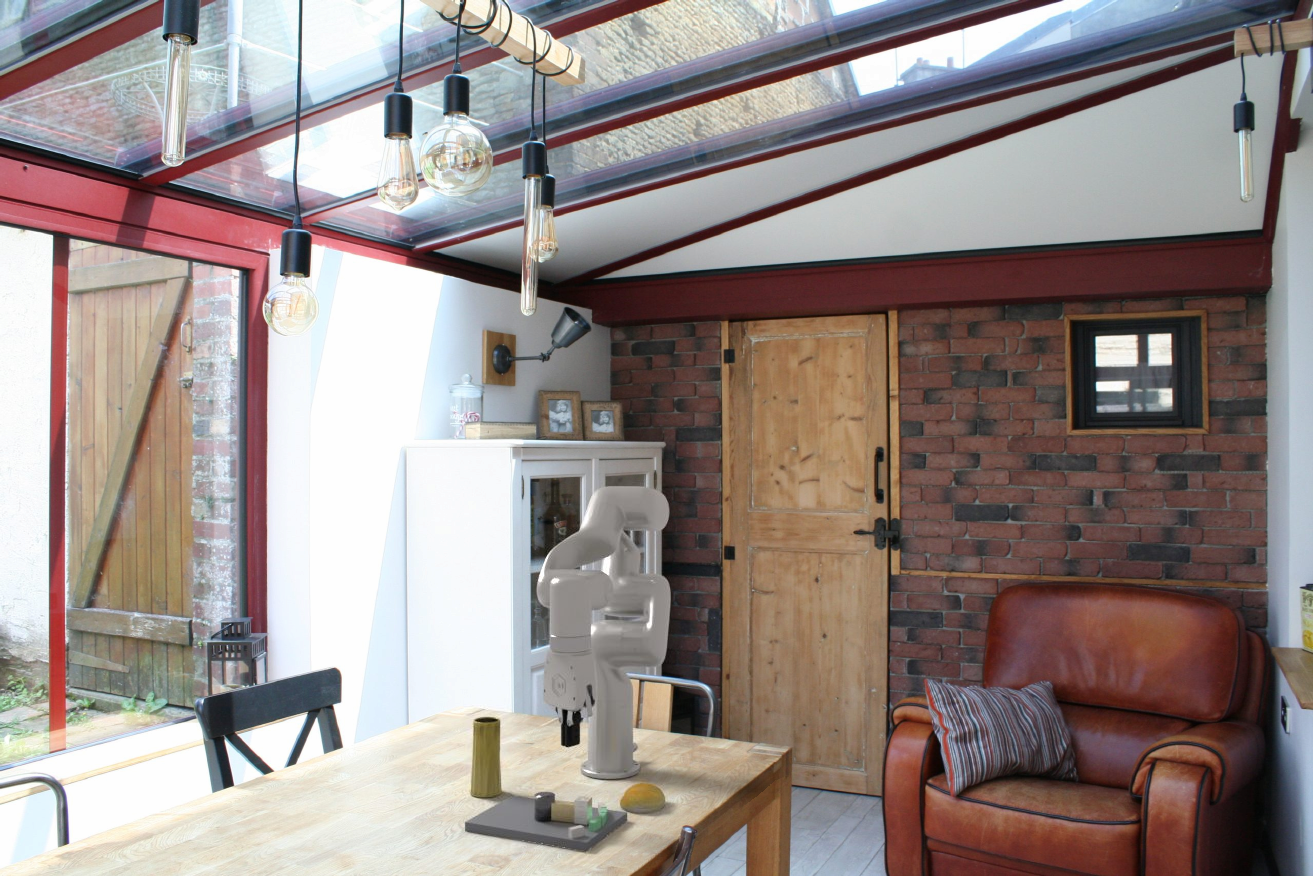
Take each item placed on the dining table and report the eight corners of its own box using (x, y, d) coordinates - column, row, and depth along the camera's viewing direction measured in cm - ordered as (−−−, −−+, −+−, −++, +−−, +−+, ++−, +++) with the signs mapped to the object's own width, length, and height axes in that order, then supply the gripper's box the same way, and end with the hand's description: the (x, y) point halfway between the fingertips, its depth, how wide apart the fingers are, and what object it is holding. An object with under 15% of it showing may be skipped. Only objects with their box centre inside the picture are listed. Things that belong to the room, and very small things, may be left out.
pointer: (531, 820, 173) (531, 797, 173) (539, 813, 176) (539, 791, 176) (586, 826, 170) (586, 802, 170) (593, 819, 173) (593, 796, 173)
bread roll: (616, 814, 182) (616, 792, 182) (627, 798, 191) (627, 777, 191) (660, 817, 180) (660, 794, 180) (668, 801, 189) (668, 780, 189)
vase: (495, 799, 189) (495, 724, 190) (465, 797, 190) (466, 722, 191) (506, 789, 195) (506, 716, 196) (477, 787, 196) (477, 715, 197)
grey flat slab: (512, 803, 187) (513, 787, 187) (627, 821, 177) (627, 804, 177) (464, 830, 172) (465, 813, 172) (586, 851, 163) (586, 833, 163)
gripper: (528, 641, 181) (528, 741, 181) (582, 652, 170) (582, 758, 170) (559, 635, 186) (559, 732, 186) (613, 646, 176) (613, 749, 176)
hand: (570, 745), depth 178 cm, fingers closed
